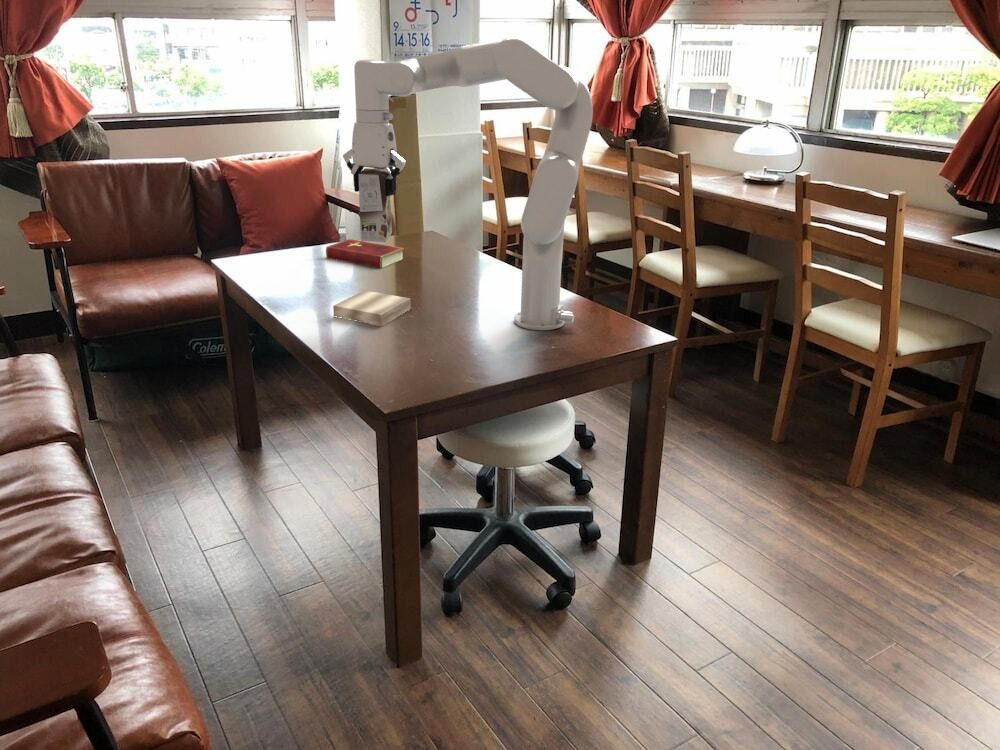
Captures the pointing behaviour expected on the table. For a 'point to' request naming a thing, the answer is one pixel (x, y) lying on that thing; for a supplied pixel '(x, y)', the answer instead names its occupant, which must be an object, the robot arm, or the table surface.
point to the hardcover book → (365, 253)
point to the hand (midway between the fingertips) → (374, 192)
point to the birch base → (372, 307)
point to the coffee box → (374, 206)
